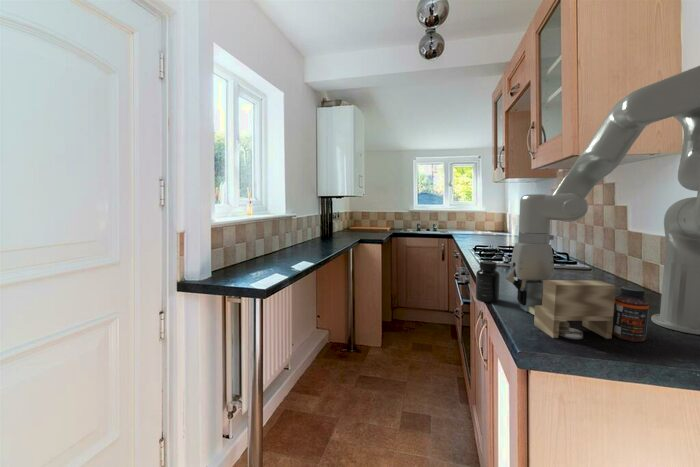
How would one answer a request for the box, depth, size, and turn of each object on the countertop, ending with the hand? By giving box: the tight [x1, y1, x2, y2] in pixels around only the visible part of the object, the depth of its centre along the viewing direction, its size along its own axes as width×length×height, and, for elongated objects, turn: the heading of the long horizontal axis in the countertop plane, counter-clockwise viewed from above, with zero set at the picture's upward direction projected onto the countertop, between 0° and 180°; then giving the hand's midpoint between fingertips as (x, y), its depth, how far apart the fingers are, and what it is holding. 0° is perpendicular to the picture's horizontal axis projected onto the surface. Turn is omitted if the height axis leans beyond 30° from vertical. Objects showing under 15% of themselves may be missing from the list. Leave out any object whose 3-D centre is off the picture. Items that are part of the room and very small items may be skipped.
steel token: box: [559, 327, 584, 340], centre depth 77 cm, size 5×5×1 cm
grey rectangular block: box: [519, 280, 571, 328], centre depth 88 cm, size 4×17×8 cm, turn 179°
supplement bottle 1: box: [475, 260, 501, 304], centre depth 105 cm, size 7×7×12 cm
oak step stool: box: [533, 279, 616, 339], centre depth 79 cm, size 13×8×12 cm, turn 89°
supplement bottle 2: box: [612, 286, 650, 343], centre depth 75 cm, size 6×6×11 cm
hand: (530, 303), depth 95 cm, fingers closed on grey rectangular block, 4 cm apart
